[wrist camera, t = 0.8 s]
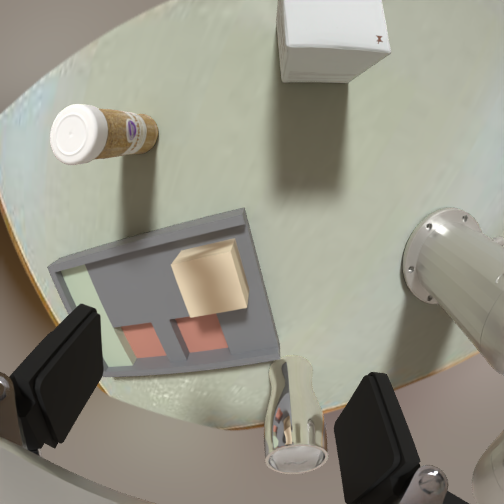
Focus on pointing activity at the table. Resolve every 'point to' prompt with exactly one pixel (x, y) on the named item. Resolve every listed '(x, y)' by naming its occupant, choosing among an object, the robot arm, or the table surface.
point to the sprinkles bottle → (100, 134)
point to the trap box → (167, 302)
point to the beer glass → (294, 419)
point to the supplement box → (330, 39)
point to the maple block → (211, 278)
